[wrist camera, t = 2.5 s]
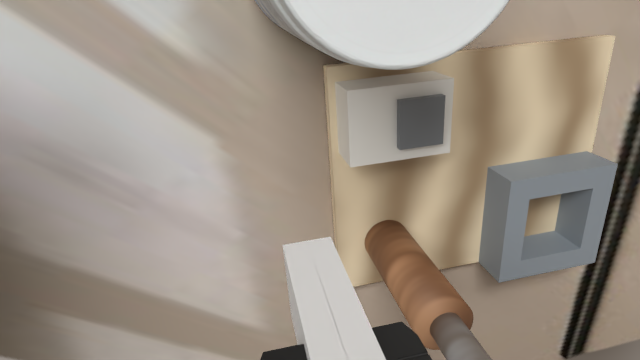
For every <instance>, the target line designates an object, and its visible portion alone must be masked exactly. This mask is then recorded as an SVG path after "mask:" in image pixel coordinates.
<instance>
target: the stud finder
mask: <svg viewBox="0 0 640 360" xmlns="http://www.w3.org/2000/svg"><path fill="white" fill-rule="evenodd" d="M453 90H454V78H452V77H449V76H447V75H444V74H441V73H438V72H435V71H426V72H417V73H408V74H400V75H391V76H382V77H373V78H365V79H356V80H347V81H339V82H335V95H336V114H337V132H338V150H339V154H340V155H341V156H342V157H343V159H344V160H345V161H346V163H347V164H348V165H349V166H350V168H351V167H357V166H364V165H371V164H377V163H384V162H391V161H397V160H404V159H410V158H417V157H424V156H430V155H437V154H444V153H450V142H451V124H452V107H453Z"/></svg>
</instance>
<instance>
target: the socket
mask: <svg viewBox="0 0 640 360" xmlns="http://www.w3.org/2000/svg"><path fill="white" fill-rule="evenodd" d="M616 169H617V164H616V163H614V162H612V161H609V160H607V159H605V158H602V157H600V156H597V155H595V154H593V153H590V152H588V151H585V152H579V153H572V154H566V155H560V156H553V157H547V158H541V159H535V160H528V161H522V162H516V163H509V164H503V165H497V166H491V167H488V170H487V180H486V190H485V201H484V211H483V221H482V231H481V241H480V252H479V263H480V264H481V265H482V266H483V267H484V268H485V269H486V270H487V271H488V272H489V273H490V274H491V275H492V276H493V277H494V278H495V279H496V280H497V281H498V282H504V281H509V280H513V279H518V278H523V277H528V276H533V275H537V274H542V273H547V272H552V271H556V270H561V269H566V268H571V267H575V266H580V265H585V264H590V263H594V262H595V259H596V255H597V251H598V246H599V242H600V238H601V233H602V229H603V225H604V220H605V216H606V212H607V208H608V203H609V199H610V195H611V190H612V186H613V182H614V177H615V173H616ZM558 194H561V198H560V204H559V209H558V215H557V221H556V226H555V231H550V232H545V233H540V234H535V235H530V236H524V234H525V228H526V221H527V214H528V207H529V200H530V199H535V198H541V197H546V196H552V195H558Z"/></svg>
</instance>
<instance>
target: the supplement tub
mask: <svg viewBox="0 0 640 360" xmlns="http://www.w3.org/2000/svg"><path fill="white" fill-rule="evenodd" d="M255 1H256V3H257V4H258V6H259V7H260V9H261V10H262V11H263V12H264V13H265V14H266V16H267V17H268V18H269V19H271V20H272V21H273V22H274V23H275V24H277V25H278V26H279V27H281V28H282V29H284V30H286V31H287V32H289V33H290V34H292V35H294V36H295V37H297V38H299V39H300V40H302V41H304V42H305V43H307V44H309V45H311V46H312V47H314V48H316V49H318V50H320V51H321V52H323V53H325V54H327V55H329V56H331V57H333V58H335V59H337V60H340V61H343V62H346V63H349V64H353V65H357V66H362V67H369V68H377V69H385V70H402V69H410V68H416V67H421V66H425V65H428V64H432V63H434V62H437V61H439V60H442V59H444V58H446V57H448V56H450V55H452V54H454V53H456V52H457V51H459V50H461V49H462V48H464V47H465V46H467V45H468V44H469V43H471V42H472V41H473V40H474V39H475V38H477V37H478V36H479V35H480V34H482V33H483V32H484V31H485V30H486V29H487V28H488V27H489V26H490V25H491V24H492V23H493V21H494V20H495V19H496V18H497V17H498V16H499V14H500V13H501V12H502V11H503V9H504V8H505V6H506V5H507V3H508V2H509V0H255Z"/></svg>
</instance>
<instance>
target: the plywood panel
mask: <svg viewBox="0 0 640 360" xmlns="http://www.w3.org/2000/svg"><path fill="white" fill-rule="evenodd" d="M614 41H615V36H609V35H600V36H591V37H581V38H572V39H563V40H553V41H544V42H535V43H525V44H516V45H507V46H497V47H488V48H479V49H469V50H460V51H457V52H456V53H454V54H452V55H450V56H448V57H446V58H444V59H442V60H439V61H437V62H434V63H432V64H428V65H425V66H421V67H416V68H410V69H402V70H385V69H377V68H369V67H362V66H357V65H353V64H349V63H339V64H330V65H323V71H324V87H325V102H326V117H327V133H328V148H329V163H330V179H331V194H332V210H333V225H334V240H335V248H336V250H337V252H338V254H339V257H340V259H341V261H342V263H343V266H344V268H345V270H346V272H347V274H348V277H349V279H350V281H351V283H352V285H353V287H356V286H361V285H366V284H371V283H376V282H381V281H384V280H383V278H382V277H381V275H380V273H379V272H378V270H377V268H376V266H375V265H374V263H373V261H372V260H371V258H370V256H369V254H368V253H367V251H366V249H365V244H364V243H365V237H366V235H367V233H368V231H369V230H370V229H371V228H372V227H373V226H374V225H375V224H377V223H379V222H381V221H385V220H395V221H398V222H400V223H401V224H402V225H403V226H404V227H405V228H406V229H407V231H408V232H409V233H410V234H411V236H412V237H413V238H414V239H415V241H416V242H417V243H418V244H419V246H420V247H421V248H422V249H423V250H424V252H425V253H426V254H427V255H428V257H429V258H430V259H431V260H432V262H433V263H434V264H435V265H436V267H437V268H438V269H439V270H441V269H446V268H451V267H456V266H461V265H466V264H471V263H476V262H479V252H480V241H481V231H482V221H483V211H484V201H485V190H486V180H487V170H488V167H491V166H497V165H503V164H509V163H516V162H522V161H528V160H535V159H541V158H547V157H553V156H560V155H566V154H572V153H579V152H585V151H588V152H590V153H592V149H593V144H594V139H595V134H596V130H597V125H598V120H599V115H600V110H601V105H602V100H603V95H604V90H605V85H606V80H607V75H608V70H609V65H610V60H611V55H612V51H613V46H614ZM426 71H435V72H438V73H441V74H444V75H447V76H449V77H452V78H454V90H453V107H452V124H451V142H450V153H444V154H437V155H430V156H424V157H417V158H410V159H404V160H397V161H391V162H384V163H377V164H371V165H364V166H357V167H351V168H350V166H349V165H348V164H347V163H346V161H345V160H344V159H343V157H342V156H341V155H340V154H339V150H338V132H337V114H336V95H335V82H339V81H347V80H356V79H365V78H373V77H382V76H391V75H400V74H408V73H417V72H426ZM560 198H561V194H558V195H552V196H546V197H541V198H535V199H530V200H529V207H528V214H527V221H526V228H525V234H524V236H530V235H535V234H540V233H545V232H550V231H555V226H556V221H557V215H558V209H559V204H560Z"/></svg>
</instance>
